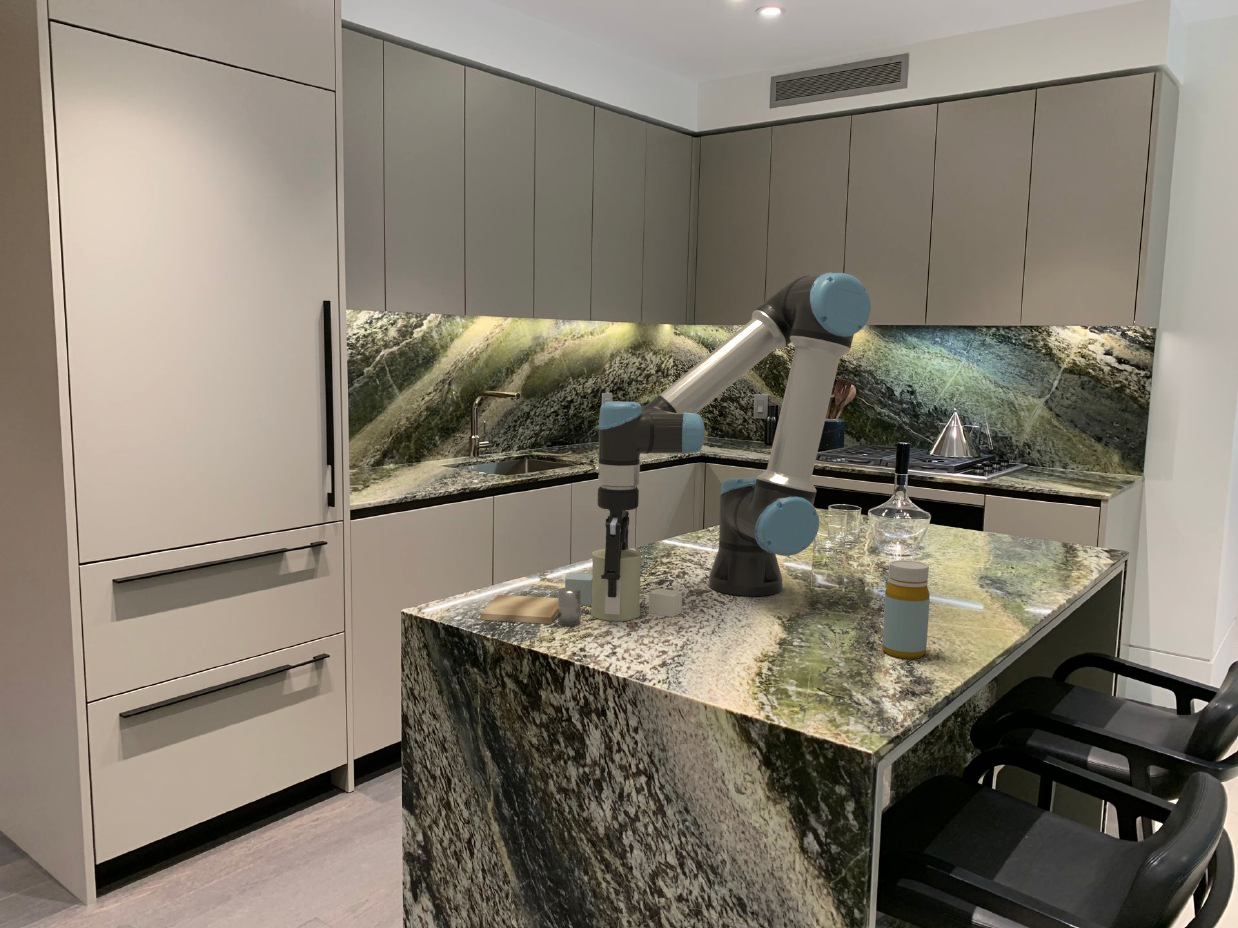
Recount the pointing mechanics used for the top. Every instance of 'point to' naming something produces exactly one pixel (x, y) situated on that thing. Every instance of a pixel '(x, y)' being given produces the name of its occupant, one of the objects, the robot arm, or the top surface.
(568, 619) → the tin
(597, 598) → the can
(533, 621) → the board
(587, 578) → the block gray
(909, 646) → the bottle
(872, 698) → the top surface
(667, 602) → the block white
